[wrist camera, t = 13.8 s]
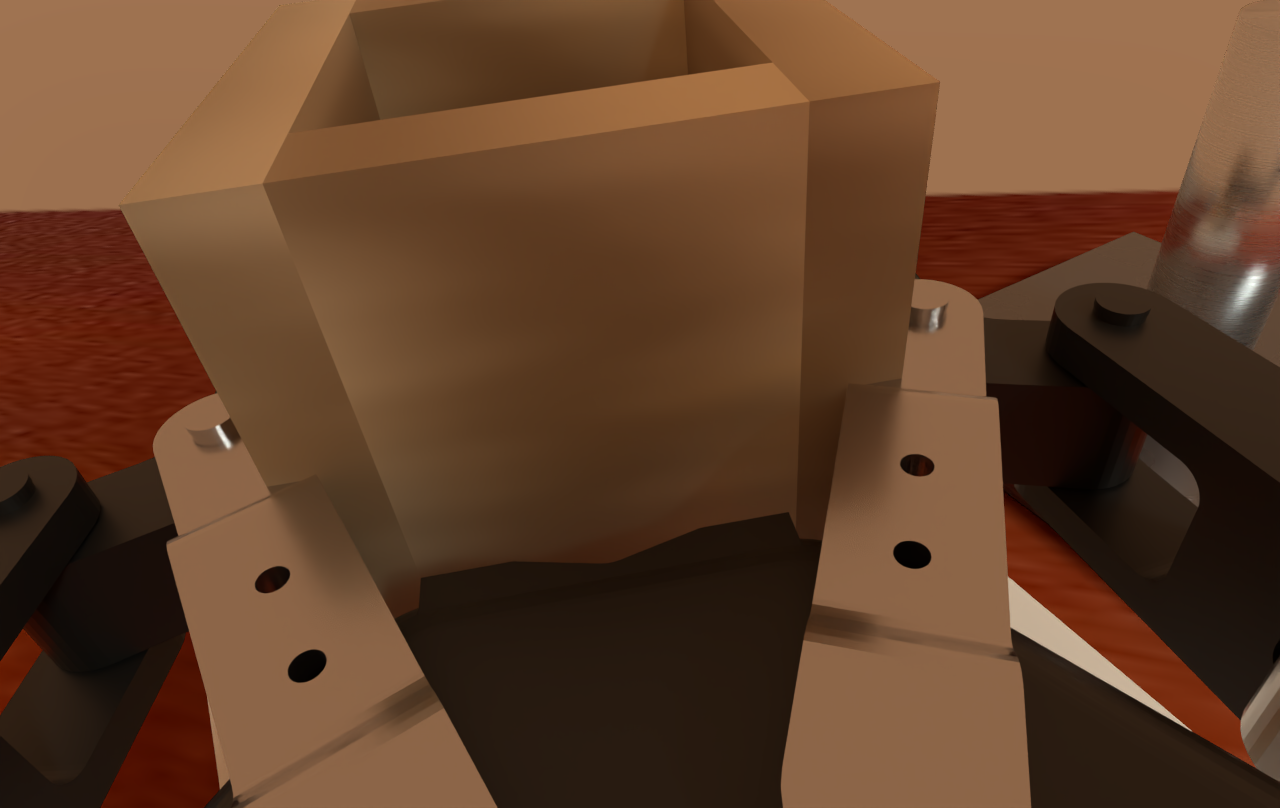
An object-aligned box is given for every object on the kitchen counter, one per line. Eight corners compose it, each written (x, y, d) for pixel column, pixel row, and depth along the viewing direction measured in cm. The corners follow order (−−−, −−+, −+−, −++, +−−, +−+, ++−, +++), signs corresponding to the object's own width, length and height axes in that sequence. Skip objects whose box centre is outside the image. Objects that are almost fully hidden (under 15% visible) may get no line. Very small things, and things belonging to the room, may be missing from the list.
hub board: (737, 392, 23) (730, 129, 19) (1226, 835, 13) (1479, 510, 9) (218, 615, 19) (36, 342, 14) (372, 1537, 9) (-73, 1654, 4)
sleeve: (750, 487, 17) (742, -59, 11) (852, 763, 12) (938, 82, 6) (461, 538, 17) (279, 6, 11) (452, 841, 12) (118, 205, 6)
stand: (1120, 274, 26) (1225, -68, 20) (1510, 454, 19) (1853, 5, 13) (869, 389, 23) (906, 21, 17) (1225, 656, 16) (1507, 184, 10)
